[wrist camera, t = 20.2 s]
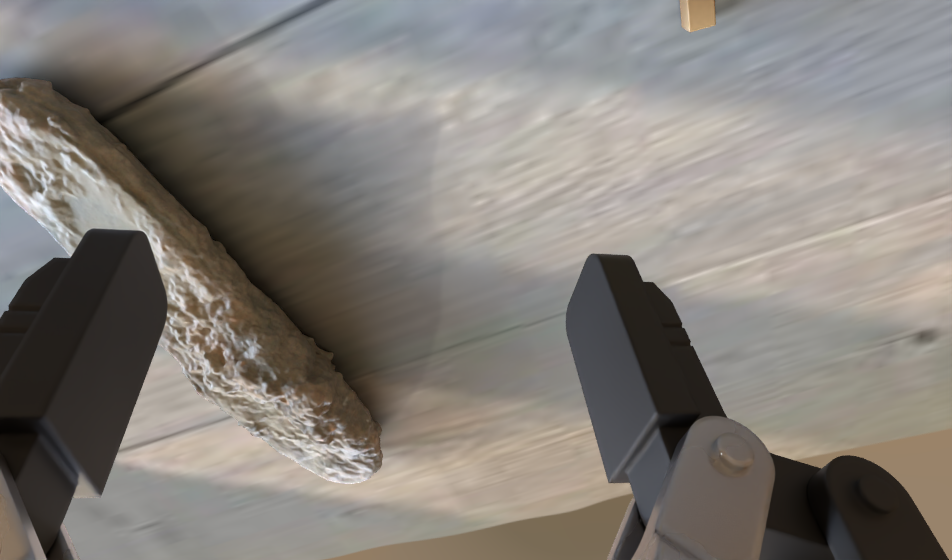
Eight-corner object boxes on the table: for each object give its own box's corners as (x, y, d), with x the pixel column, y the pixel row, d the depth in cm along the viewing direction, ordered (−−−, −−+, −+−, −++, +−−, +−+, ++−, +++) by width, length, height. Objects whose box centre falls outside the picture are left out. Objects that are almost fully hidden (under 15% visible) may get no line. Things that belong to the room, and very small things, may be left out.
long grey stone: (78, 25, 30) (-19, 112, 34) (-5, 42, 26) (-106, 140, 30) (423, 441, 45) (329, 471, 48) (408, 498, 40) (305, 526, 44)
